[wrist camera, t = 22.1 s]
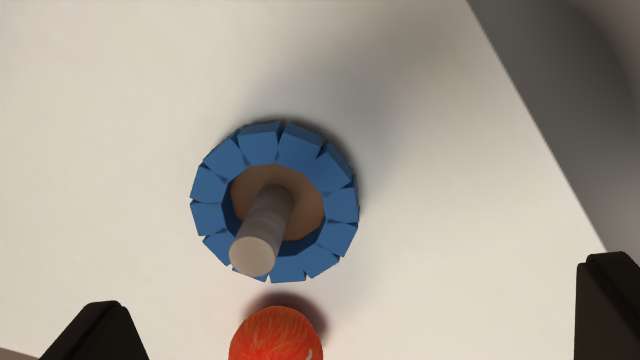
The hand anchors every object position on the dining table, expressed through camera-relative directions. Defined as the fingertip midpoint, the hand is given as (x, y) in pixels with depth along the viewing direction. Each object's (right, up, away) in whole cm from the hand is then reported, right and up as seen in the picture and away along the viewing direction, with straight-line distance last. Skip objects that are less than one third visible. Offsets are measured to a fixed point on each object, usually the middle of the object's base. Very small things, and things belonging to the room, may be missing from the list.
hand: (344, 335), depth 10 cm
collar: (-4, +2, +27) cm, 27 cm away
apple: (-4, -11, +34) cm, 36 cm away
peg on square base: (-4, +2, +28) cm, 28 cm away
